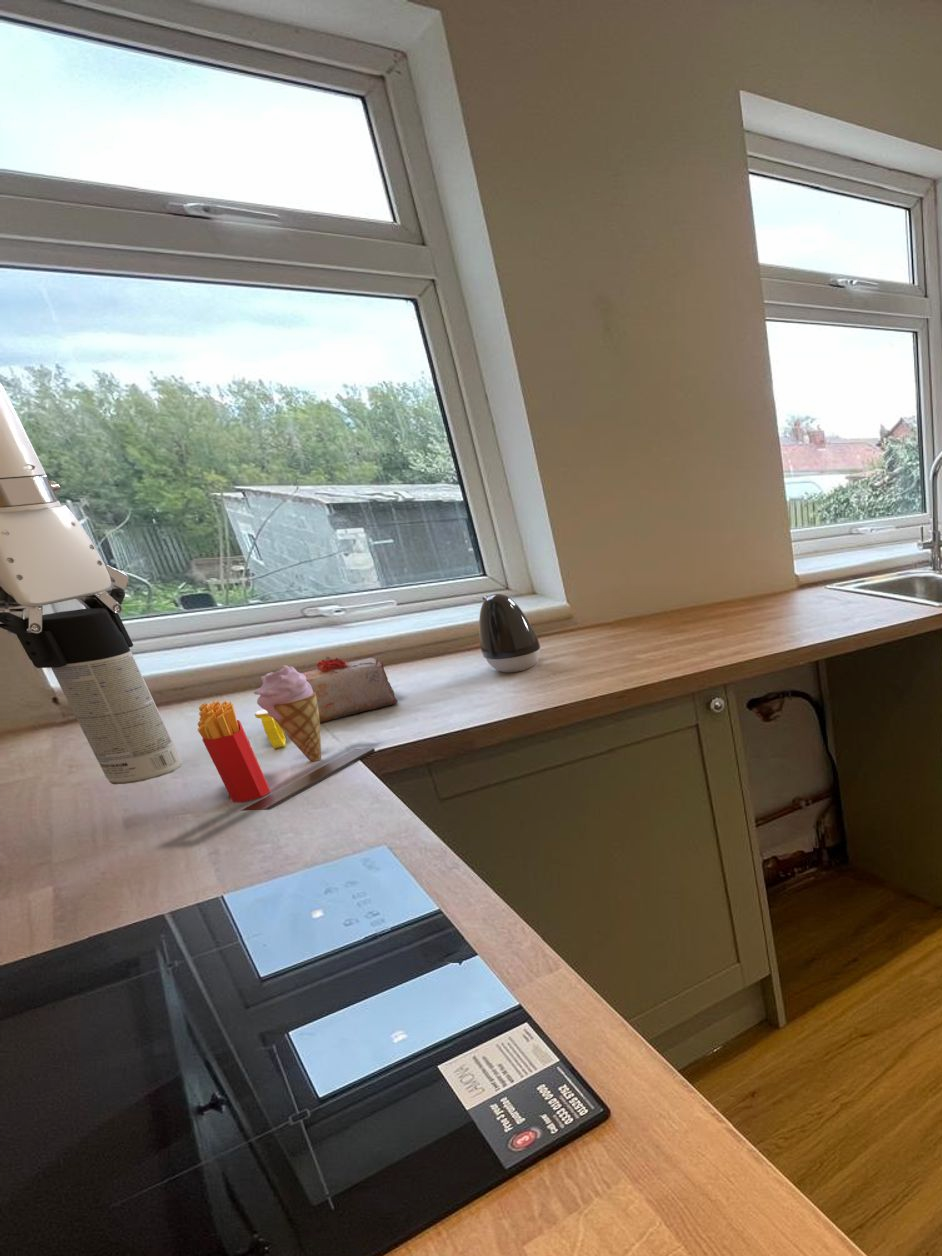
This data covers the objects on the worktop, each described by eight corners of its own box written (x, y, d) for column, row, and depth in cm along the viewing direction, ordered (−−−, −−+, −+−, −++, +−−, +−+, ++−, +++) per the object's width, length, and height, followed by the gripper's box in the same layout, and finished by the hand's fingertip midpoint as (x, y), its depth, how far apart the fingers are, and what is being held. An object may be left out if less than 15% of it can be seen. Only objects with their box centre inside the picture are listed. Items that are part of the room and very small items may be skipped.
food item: (307, 728, 136) (284, 672, 132) (297, 718, 141) (275, 664, 137) (401, 705, 146) (382, 652, 142) (389, 696, 151) (370, 645, 147)
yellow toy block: (270, 742, 131) (255, 707, 129) (292, 737, 133) (277, 703, 130) (268, 753, 127) (252, 717, 124) (290, 748, 128) (275, 713, 126)
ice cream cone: (315, 769, 120) (274, 672, 114) (274, 770, 120) (231, 674, 114) (349, 751, 126) (312, 658, 120) (310, 752, 126) (271, 660, 120)
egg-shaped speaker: (529, 658, 171) (509, 586, 165) (554, 665, 165) (534, 591, 159) (478, 671, 163) (455, 597, 157) (502, 679, 157) (479, 602, 151)
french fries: (228, 788, 115) (187, 702, 109) (267, 778, 117) (229, 694, 112) (232, 808, 108) (189, 718, 103) (273, 797, 111) (233, 708, 106)
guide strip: (173, 850, 98) (171, 847, 98) (356, 751, 126) (355, 748, 125) (197, 849, 98) (195, 846, 98) (375, 751, 126) (374, 748, 125)
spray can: (183, 759, 104) (111, 604, 96) (184, 772, 99) (109, 611, 92) (110, 775, 99) (28, 615, 92) (107, 790, 95) (22, 623, 87)
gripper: (57, 489, 95) (130, 638, 102) (-135, 508, 79) (-33, 682, 86) (120, 486, 94) (188, 635, 101) (-61, 504, 78) (35, 679, 86)
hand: (86, 655), depth 94 cm, fingers closed on spray can, 6 cm apart
